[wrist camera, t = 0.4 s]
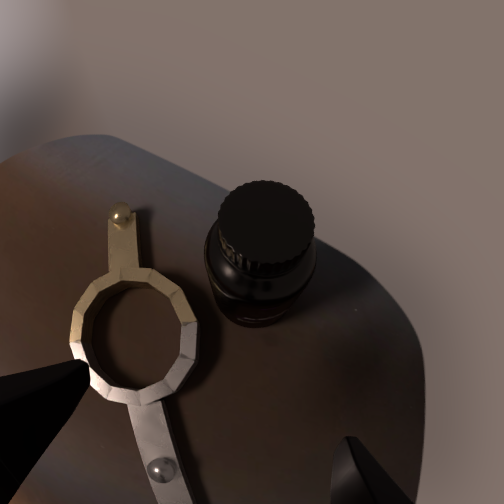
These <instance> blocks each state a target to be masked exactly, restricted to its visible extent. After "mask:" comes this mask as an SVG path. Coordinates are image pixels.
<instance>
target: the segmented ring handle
mask: <svg viewBox="0 0 504 504" xmlns="http://www.w3.org/2000/svg"><path fill="white" fill-rule="evenodd" d="M183 323H184V322H183ZM187 323H188V322H187ZM190 323H191V322H190ZM190 323H188V324H187V326H184V327H183V326H182V328H181V343H180V356H179V357H178V359H177V360H176V362H175V363H174V365H173V366H172V368H171V369H170V371H169V372H168V374H167V375H166V377H165V378H164V380H162V381H160V382H158V383H155V384H153V385H151V386H148V387H146V388H144V389H136V388H130V387H124V386H120V385H119V384H117V383H116V382H115V381H114V380H113V379H112V378H110V377H109V376H108V375H107V374H106V373H105V372H104V371H103V370H101V369H100V366H99V364H98V361H97V358H96V356H95V353H94V350H93V348H92V345H91V344H89V343H85V342H82V341H79V339H78V342H79V344H78V342H77V343H76V342H71V343H70V346H71V349H72V352H73V355H74V358H75V359H81V360H83V361H85V362H87V363H88V365H89V370H90V377H91V382H90V385H91V386H92V387H93V388H94V389H96V390H97V391H98V392H99V393H100V394H101V395H102V396H103V397H104V398H106V399H107V400H112V401H116V402H121V403H126V404H127V406H128V410H129V414H130V418H131V422H132V426H133V430H134V433H135V437H136V441H137V444H138V447H139V451H140V454H141V457H142V460H143V463H144V466H145V469H146V472H147V475H148V478H149V481H150V483H151V486H152V489H153V491H154V494H155V496H156V499H157V501H158V504H197V502H196V500H195V497H194V494H193V492H192V489H191V486H190V484H189V481H188V478H187V475H186V472H185V469H184V466H183V463H182V460H181V457H180V454H179V450H178V447H177V444H176V440H175V437H174V433H173V430H172V426H171V423H170V419H169V415H168V411H167V407H166V403H165V400H160V399H162V398H164V397H167V396H169V395H171V394H173V393H176V392H178V390H180V389H181V388H182V386H183V385H184V383H185V382H186V380H187V379H188V377H189V376H190V374H191V373H192V371H193V370H194V368H195V367H196V365H197V364H198V362H197V361H196V360H198V361H199V351H200V331H201V326H200V325H199V324H198V323H197V322H193V323H191V324H190ZM182 325H185V324H182ZM76 341H77V340H76ZM157 400H159V401H157Z"/></svg>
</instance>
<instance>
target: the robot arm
mask: <svg viewBox="0 0 504 504" xmlns="http://www.w3.org/2000/svg"><path fill="white" fill-rule="evenodd" d="M90 382H91V377H90V370H89V365H88V363H87V362H85V361H83V360H81V359H74V360H71V361H67V362H63V363H59V364H55V365H51V366H47V367H42V368H38V369H34V370H30V371H25V372H21V373H16V374H11V375H7V376H2V377H0V504H8V503H9V502H10V500H11V499H12V497H13V496H14V495H15V493H16V492H17V490H18V489H19V487H20V485H21V484H22V483H23V481H24V480H25V478H26V477H27V475H28V474H29V472H30V471H31V470H32V468H33V467H34V465H35V464H36V463H37V461H38V460H39V458H40V457H41V456H42V454H43V453H44V452H45V450H46V449H47V447H48V446H49V445H50V443H51V442H52V441H53V439H54V438H55V437H56V435H57V434H58V433H59V431H60V430H61V429H62V427H63V426H64V425H65V423H66V422H67V421H68V419H69V418H70V417H71V415H72V414H73V412H74V411H75V409H76V407H77V406H78V404H79V402H80V400H81V399H82V397H83V395H84V394H85V392H86V390H87V389H88V387H89V385H90ZM331 504H415V503H414V502H413V501H411V499H410V498H409V497H408V496H407V495H406V494H405V492H404V491H403V490H402V489H401V488H400V487H399V486H398V485H397V483H396V482H395V481H394V480H393V479H392V478H391V477H390V475H389V474H388V473H387V472H386V471H385V470H384V468H383V467H382V466H381V465H380V464H379V463H378V461H377V460H376V459H375V458H374V457H373V456H372V454H371V453H370V452H369V451H368V450H367V448H366V447H365V446H364V445H363V444H362V443H361V441H360V440H359V439H358V438H357V437H351V436H346V437H344V438H343V440H342V441H341V443H340V444H339V445H338V447H337V448H336V450H335V452H334V457H333V469H332V480H331Z"/></svg>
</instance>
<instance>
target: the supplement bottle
mask: <svg viewBox="0 0 504 504" xmlns="http://www.w3.org/2000/svg"><path fill="white" fill-rule="evenodd" d="M314 228H315V224H314V216H313V214H312V209H311V208H310V207H309V204H308V202H307V201H306V200H304V198H303V196H302V195H300V194H298V192H297V191H296V190H294V189H292V188H290V187H289V186H287V185H283V184H282V183H279V182H274V181H265V180H261V181H252V182H251V183H245V184H243V185H242V186H238V187H237V188H236V189H235V190H233V191H231V192H230V194H229V195H228V196H227V197H225V200H224V202H223V203H222V204H221V207H220V210H219V212H218V219H217V220H216V221H215V223H214V224H213V225H212V227H211V229H210V230H209V232H208V235H207V238H206V241H205V246H204V260H205V266H206V270H207V274H208V277H209V281H210V285H211V288H212V292H213V295H214V298H215V301H216V304H217V306H218V308H219V309H220V311H221V312H222V313H223V314H224V316H225V317H226V318H228V319H229V320H230V321H232V322H233V323H235V324H237V325H240V326H243V327H247V328H261V327H266V326H269V325H271V324H273V323H275V322H276V321H278V320H279V319H280V318H282V317H283V316H284V315H285V314H286V312H287V311H288V310H289V309H290V307H291V306H292V305H293V304H294V302H295V301H296V300H297V298H298V297H299V296H300V294H301V293H302V292H303V290H304V289H305V288H306V286H307V285H308V283H309V281H310V280H311V278H312V275H313V273H314V270H315V266H316V259H317V252H316V245H315V241H314V238H313V236H314Z"/></svg>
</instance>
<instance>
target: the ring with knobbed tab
mask: <svg viewBox="0 0 504 504" xmlns="http://www.w3.org/2000/svg"><path fill="white" fill-rule="evenodd" d="M109 218H110V219H108V257H109V273H108V274H106V275H104V276H102V277H100V278H98V279H96V280H94V281H93V283H91V284H90V285H89V287H88V288H87V290H86V291H85V293H84V294H83V296H82V297H81V299H80V300H79V302H78V303H77V305H76V306H75V309H76V310H74V311H73V318H72V325H71V333H70V342H76V343H77V342H78V339H79V341H82V342H85V343H89V344H91V342H92V332H93V324H94V318H95V317H96V315H97V314H98V312H99V311H100V309H101V308H102V306H103V305H104V303H105V302H106V300H107V299H108V298H109V297H111V296H113V295H115V294H117V293H119V292H121V291H123V290H125V289H127V288H129V287H132V288H146V289H154V290H156V291H157V292H159V293H160V294H162V295H163V296H164V297H166V298H167V299H169V300H170V301H171V303H172V305H173V307H174V309H175V311H176V313H177V316H178V318H179V320H180V322H181V324H185V325H182V326H183V327H184V326H187V324H188V323H190V322H191V323H193V322H197V323H198V324H199V325H200V323H199V321H198V319H197V317H196V315H195V313H194V311H193V309H192V307H191V305H190V303H189V301H188V299H187V297H186V295H185V293H184V292H183V290H182V289H181V288H180V287H179V286H178V285H176V284H175V283H173V282H172V281H170V280H169V279H167V278H166V277H164V276H163V275H161V274H160V273H158V272H157V271H155V270H154V269H153V270H152V268H143V266H142V255H141V243H140V227H139V218H138V216H137V214H136V212H134V213H132V211H131V209H130V208H129V206H128V204H127V203H125V202H118V203H116V204H114V205H113V206H112V207H111V209H110V211H109ZM183 322H184V323H183ZM187 322H188V323H187ZM191 323H190V324H191ZM76 340H77V341H76ZM78 344H79V342H78Z"/></svg>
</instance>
